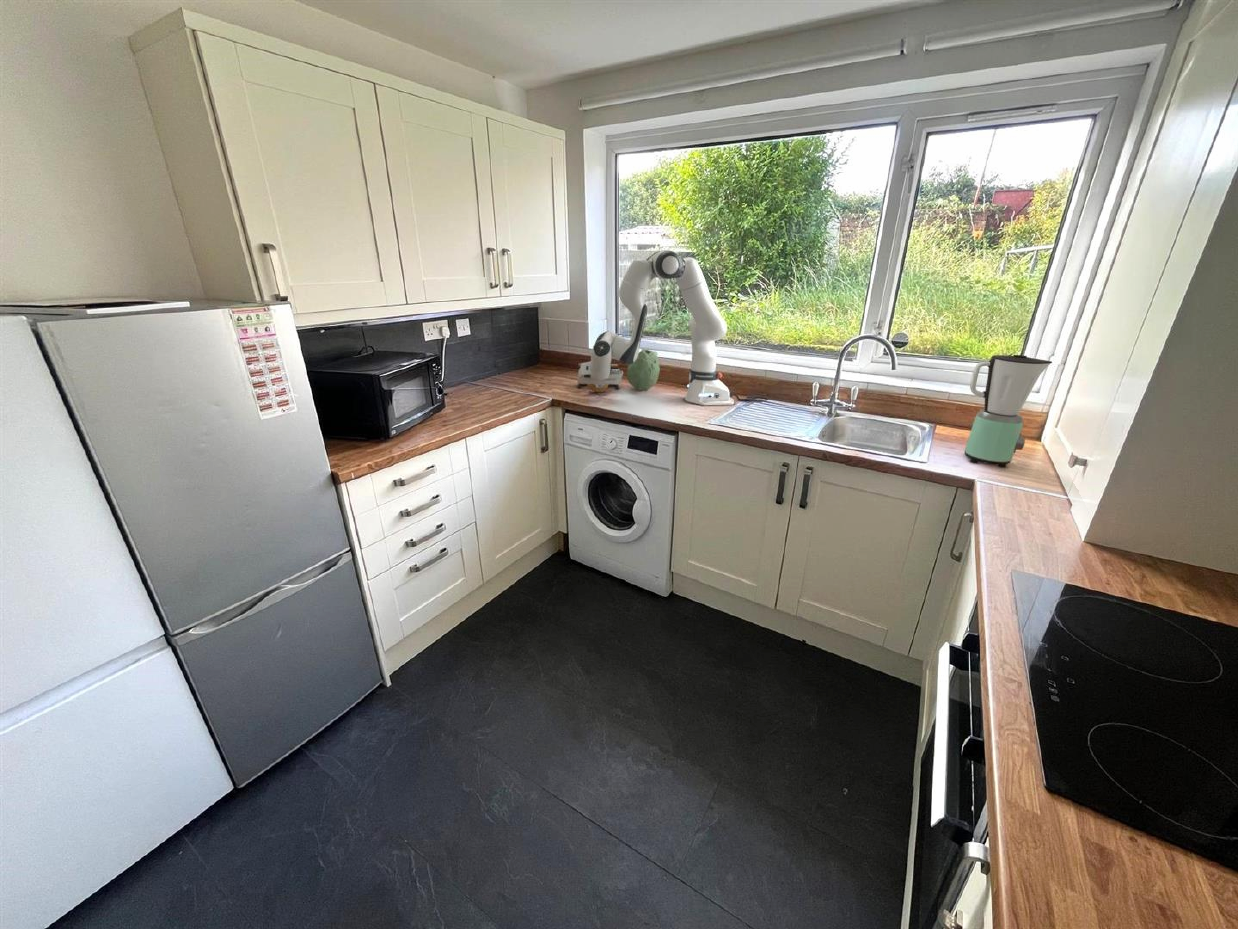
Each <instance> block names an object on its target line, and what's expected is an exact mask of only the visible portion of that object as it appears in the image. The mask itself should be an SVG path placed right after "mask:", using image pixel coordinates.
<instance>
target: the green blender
mask: <svg viewBox="0 0 1238 929" xmlns="http://www.w3.org/2000/svg"><path fill="white" fill-rule="evenodd" d="M1052 363H1053V361H1052V360H1045V359H1040V358H1033V357H1028V355H1023V354H1013V355H1005V354H1003V355H1001V354H996V355H992V357H991V358H990V360H985V361H980V362H978V363H977V364H976V365H975V367H974V369H973V370H972V371H973V372H972V374H971V379H970V382H969V389H970V392H971V394H973V395H975V396H976V397H980V398H983V399H984V408H983V409H981V410H979V411H978V412H977V413H976V415H975V417H974V419H973V422H972V426H971V429H970V432H969V435H968V438H967V442H966V445H965V448H964V455H965V456H966V457H967V458H968V459H970V463H973V464H979V462H980V463H983V464H988V465H996V466H997V467H999V468H1004V469H1005V468H1006V466H1007V465H1009V464H1010V463H1011V462H1012V461H1013V457H1014V454H1016V451H1018V450H1019V451H1022V450H1023V448H1024V446H1025V443H1026V438H1025V437H1023V436H1022V430H1023V426H1024V419H1023V416H1022V415H1021V414H1020V412H1021V410H1022V409H1023V406H1024V405H1025V403H1026V401H1027V399H1028V398H1029V396H1030V394H1031V392H1032V390H1033V389H1034V386H1035V385H1036V383H1037V382H1038V379H1039V377H1040V376H1041V375H1042V373H1043V372H1044V371H1045V370H1046V369H1047V368H1048V367H1049V366H1050V364H1052ZM982 367H987V368H988V371H987V379H986V385H985V390H983V391H979V390H977V381H978V377H979V374H980V371H981V368H982Z"/></svg>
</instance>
